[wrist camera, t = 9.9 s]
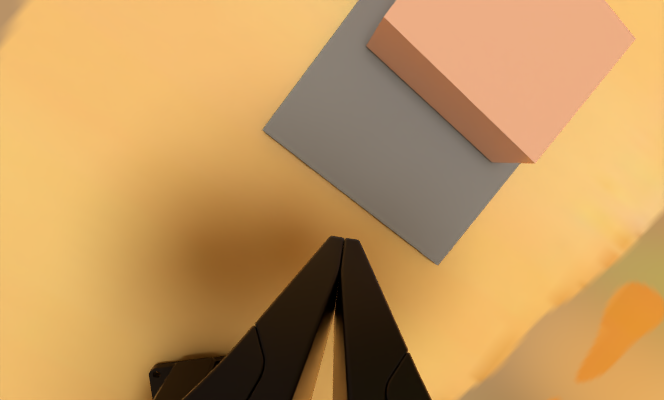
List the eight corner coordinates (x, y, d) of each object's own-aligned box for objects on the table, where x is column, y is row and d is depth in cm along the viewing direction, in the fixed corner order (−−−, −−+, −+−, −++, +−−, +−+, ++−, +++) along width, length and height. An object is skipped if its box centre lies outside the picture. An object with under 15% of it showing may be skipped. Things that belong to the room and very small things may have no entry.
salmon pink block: (535, 163, 16) (635, 38, 16) (383, 16, 14) (497, -134, 13) (490, 162, 20) (570, 62, 19) (365, 47, 17) (453, -70, 17)
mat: (433, 262, 21) (437, 265, 20) (263, 130, 18) (262, 130, 17) (593, 64, 20) (602, 61, 20) (442, -110, 17) (447, -120, 16)
